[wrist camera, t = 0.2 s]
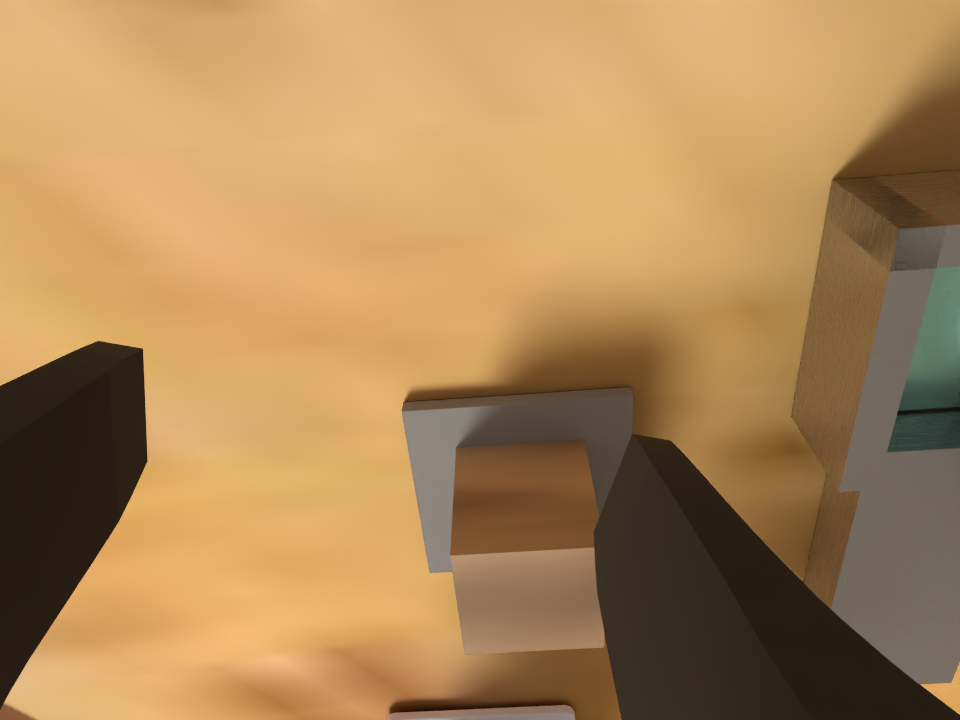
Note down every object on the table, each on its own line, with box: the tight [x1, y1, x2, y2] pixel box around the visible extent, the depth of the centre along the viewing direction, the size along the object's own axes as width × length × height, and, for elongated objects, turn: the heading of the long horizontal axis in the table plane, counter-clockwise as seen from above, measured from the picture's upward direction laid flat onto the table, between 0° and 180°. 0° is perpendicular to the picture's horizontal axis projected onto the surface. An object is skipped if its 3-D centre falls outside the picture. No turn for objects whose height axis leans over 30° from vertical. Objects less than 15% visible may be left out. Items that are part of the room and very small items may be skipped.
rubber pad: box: [402, 387, 634, 573], centre depth 24 cm, size 7×7×1 cm
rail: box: [791, 170, 960, 684], centre depth 21 cm, size 18×8×4 cm, turn 5°
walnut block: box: [450, 439, 604, 654], centre depth 21 cm, size 4×4×4 cm
